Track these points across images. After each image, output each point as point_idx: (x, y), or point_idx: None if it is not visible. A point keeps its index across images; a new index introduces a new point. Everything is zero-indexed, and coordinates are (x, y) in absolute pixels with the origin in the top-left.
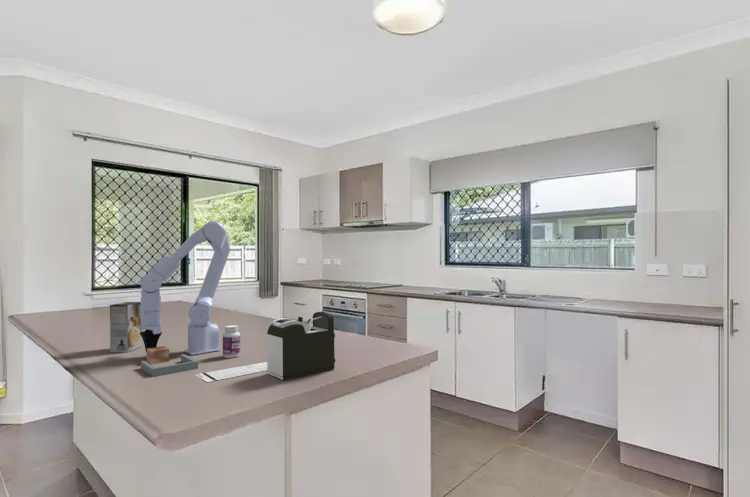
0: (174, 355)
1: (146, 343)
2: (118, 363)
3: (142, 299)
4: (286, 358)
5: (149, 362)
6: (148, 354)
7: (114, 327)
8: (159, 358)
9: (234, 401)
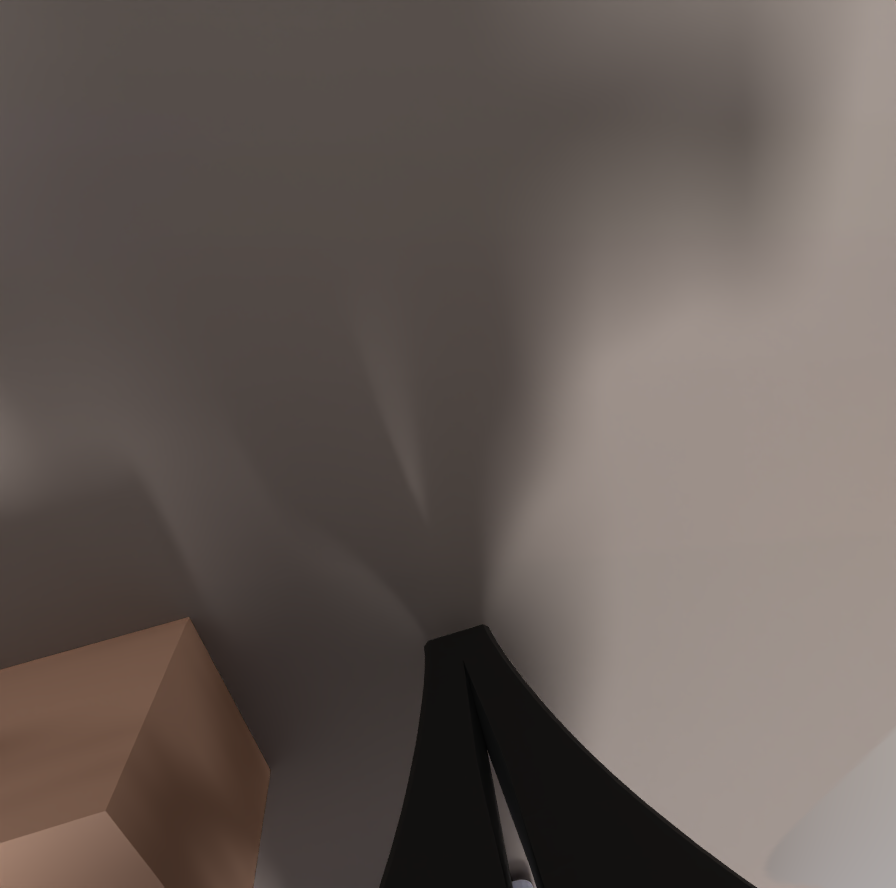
0: (379, 832)
1: (399, 823)
2: (194, 227)
3: None
4: None
5: (18, 670)
6: (11, 757)
7: None
8: None
9: None
